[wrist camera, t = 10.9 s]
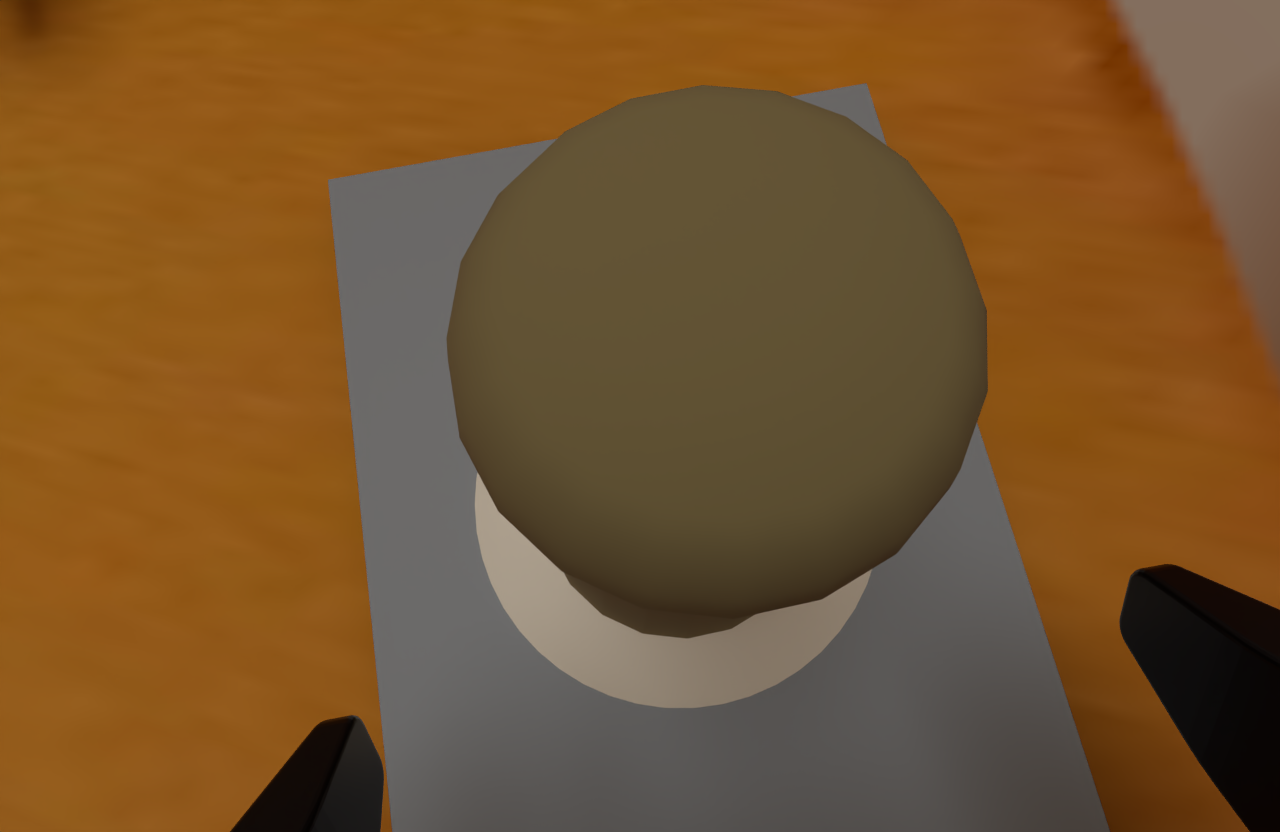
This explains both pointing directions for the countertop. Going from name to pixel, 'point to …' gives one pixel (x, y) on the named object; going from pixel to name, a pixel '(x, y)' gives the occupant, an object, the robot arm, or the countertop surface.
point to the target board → (660, 665)
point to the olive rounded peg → (716, 356)
